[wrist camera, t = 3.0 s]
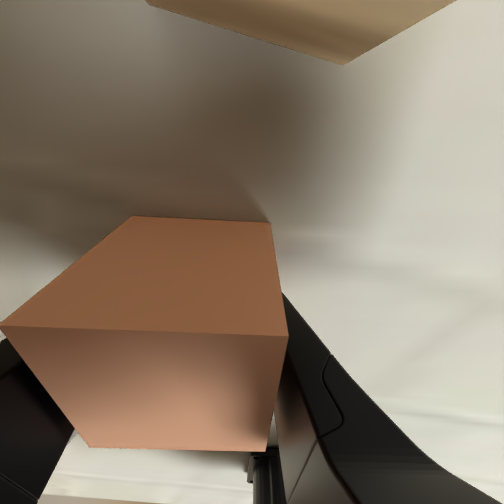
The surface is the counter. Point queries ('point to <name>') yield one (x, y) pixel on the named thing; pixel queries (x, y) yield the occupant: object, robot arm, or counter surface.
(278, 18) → the maple block
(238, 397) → the terracotta block
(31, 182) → the counter surface
